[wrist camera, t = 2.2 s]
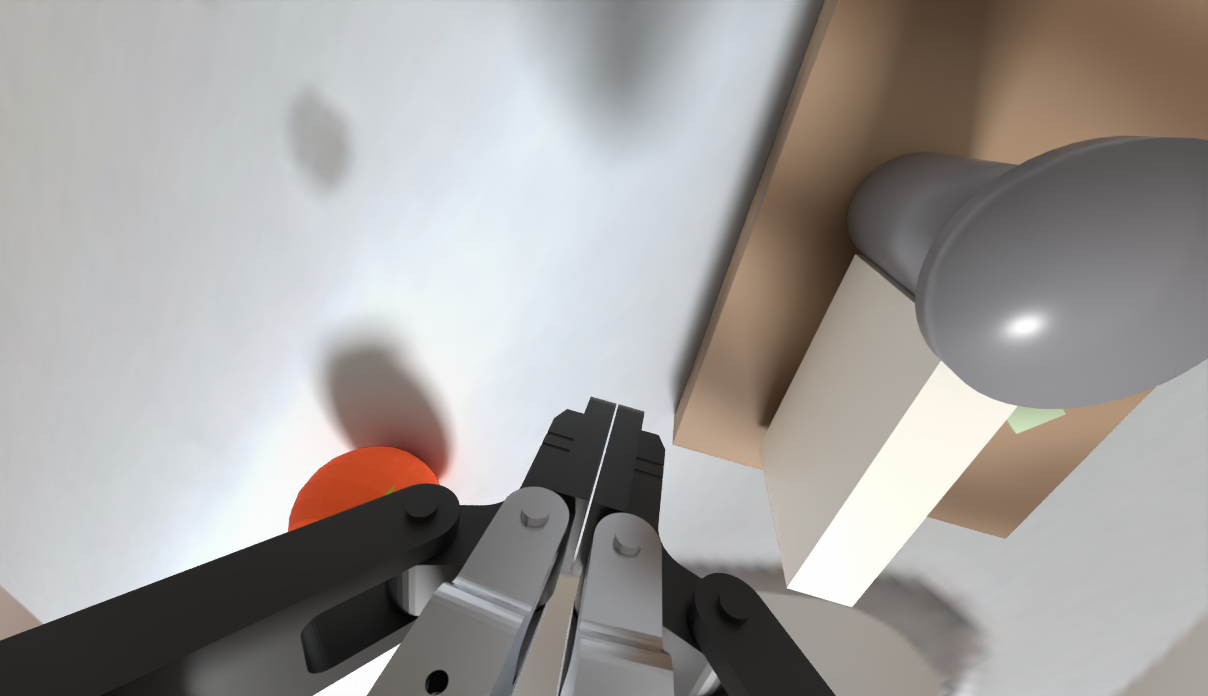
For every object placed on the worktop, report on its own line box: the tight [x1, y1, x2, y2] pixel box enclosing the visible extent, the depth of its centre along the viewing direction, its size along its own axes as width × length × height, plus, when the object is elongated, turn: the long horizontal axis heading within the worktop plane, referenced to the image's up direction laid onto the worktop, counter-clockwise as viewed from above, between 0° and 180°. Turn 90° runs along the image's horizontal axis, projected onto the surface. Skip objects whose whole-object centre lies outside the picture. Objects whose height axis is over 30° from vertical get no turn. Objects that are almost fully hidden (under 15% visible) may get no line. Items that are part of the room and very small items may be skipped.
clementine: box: [288, 446, 440, 532], centre depth 22 cm, size 8×7×7 cm
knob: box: [759, 136, 1208, 607], centre depth 12 cm, size 12×4×7 cm, turn 169°
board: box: [673, 0, 1208, 539], centre depth 15 cm, size 20×14×2 cm
